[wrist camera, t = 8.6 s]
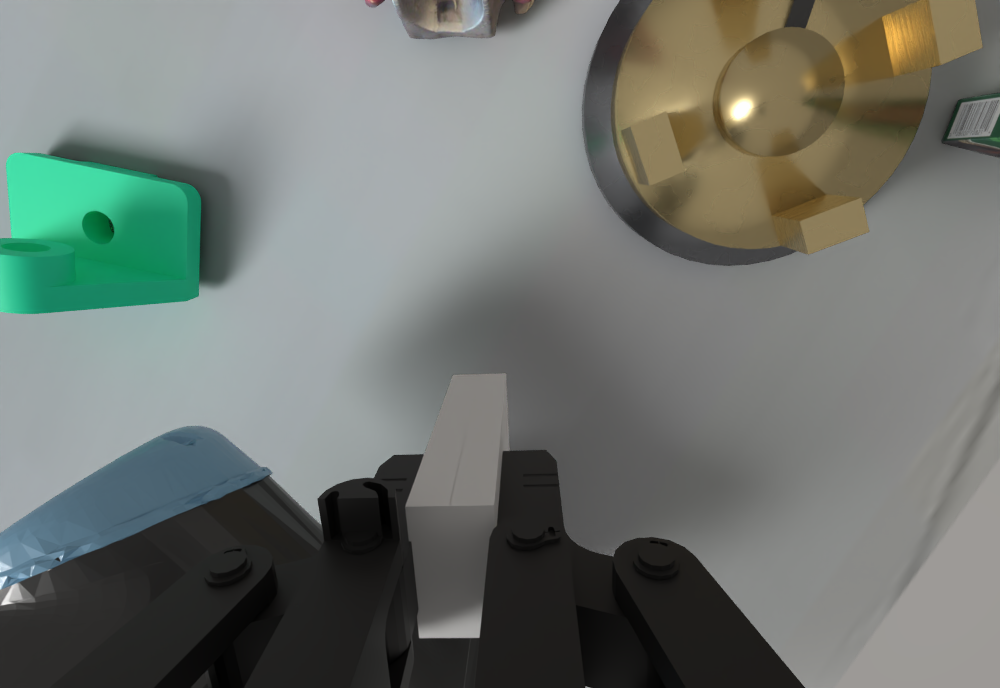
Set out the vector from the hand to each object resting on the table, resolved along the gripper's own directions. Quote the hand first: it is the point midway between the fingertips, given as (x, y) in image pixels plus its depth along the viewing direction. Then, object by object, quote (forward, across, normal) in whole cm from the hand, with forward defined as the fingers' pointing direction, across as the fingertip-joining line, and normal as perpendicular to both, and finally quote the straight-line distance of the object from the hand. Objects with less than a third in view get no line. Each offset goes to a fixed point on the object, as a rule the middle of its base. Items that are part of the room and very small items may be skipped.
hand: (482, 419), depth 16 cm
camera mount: (+25, +27, -5) cm, 37 cm away
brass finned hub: (+21, -15, -10) cm, 28 cm away
